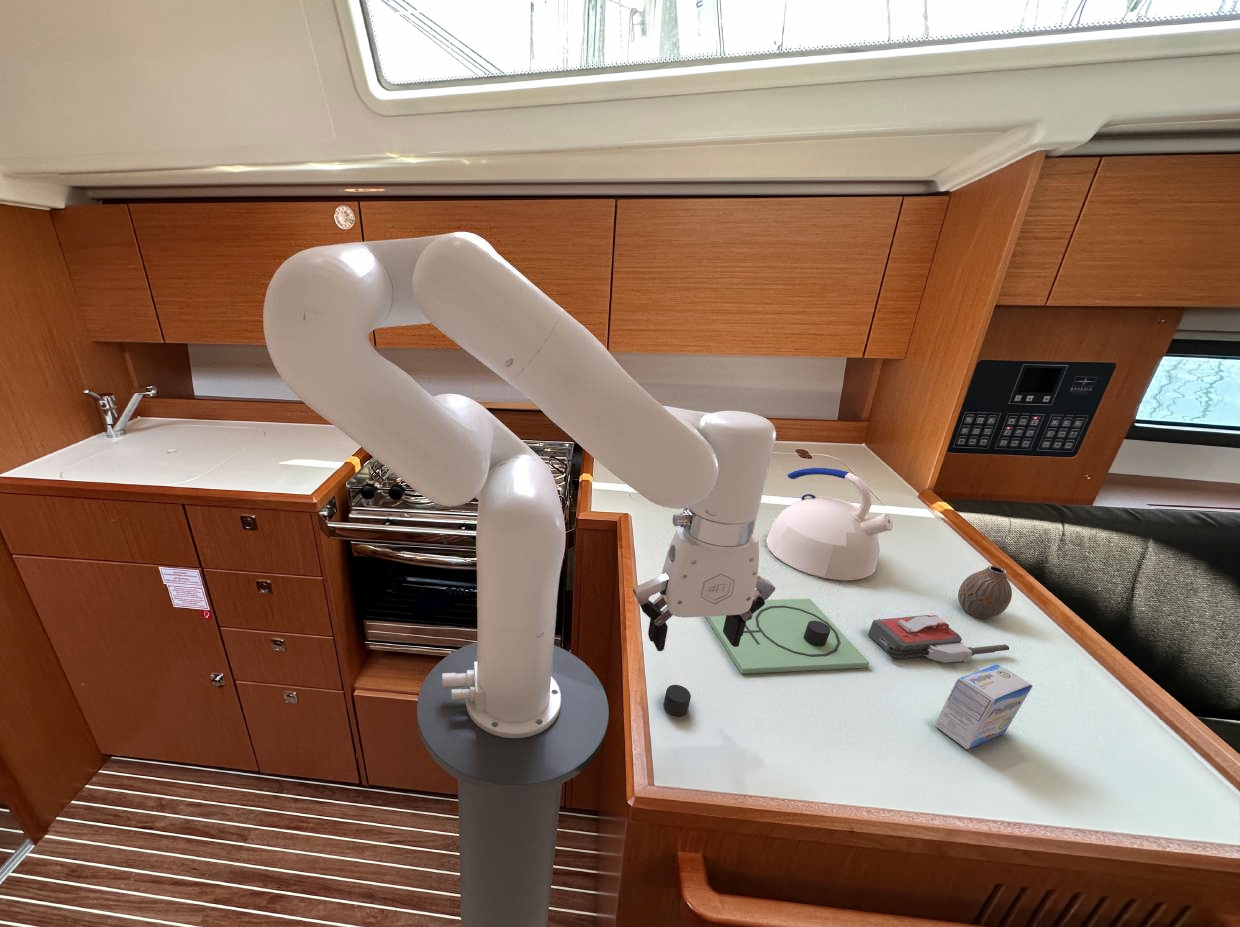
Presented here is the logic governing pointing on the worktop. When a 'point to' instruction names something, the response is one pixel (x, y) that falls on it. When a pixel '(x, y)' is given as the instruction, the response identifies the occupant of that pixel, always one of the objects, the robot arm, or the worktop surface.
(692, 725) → the worktop surface
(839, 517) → the kettle
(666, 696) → the eye dot
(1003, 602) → the vase
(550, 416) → the robot arm
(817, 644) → the eye dot
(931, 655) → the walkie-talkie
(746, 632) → the drawing board
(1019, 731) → the worktop surface
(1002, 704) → the medicine box
